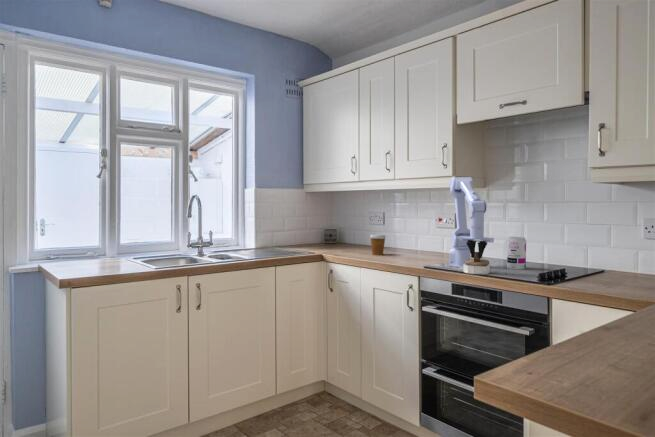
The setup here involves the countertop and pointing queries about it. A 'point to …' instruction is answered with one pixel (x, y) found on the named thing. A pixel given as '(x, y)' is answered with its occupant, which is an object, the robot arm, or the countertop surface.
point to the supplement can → (516, 253)
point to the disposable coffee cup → (377, 243)
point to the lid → (476, 261)
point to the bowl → (476, 269)
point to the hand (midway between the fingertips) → (476, 257)
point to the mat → (503, 270)
